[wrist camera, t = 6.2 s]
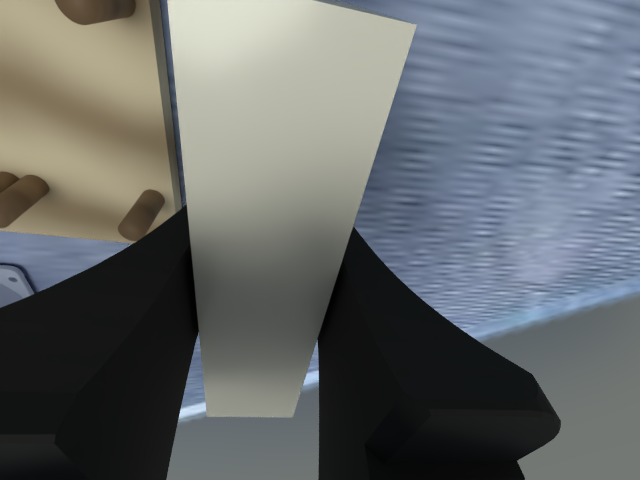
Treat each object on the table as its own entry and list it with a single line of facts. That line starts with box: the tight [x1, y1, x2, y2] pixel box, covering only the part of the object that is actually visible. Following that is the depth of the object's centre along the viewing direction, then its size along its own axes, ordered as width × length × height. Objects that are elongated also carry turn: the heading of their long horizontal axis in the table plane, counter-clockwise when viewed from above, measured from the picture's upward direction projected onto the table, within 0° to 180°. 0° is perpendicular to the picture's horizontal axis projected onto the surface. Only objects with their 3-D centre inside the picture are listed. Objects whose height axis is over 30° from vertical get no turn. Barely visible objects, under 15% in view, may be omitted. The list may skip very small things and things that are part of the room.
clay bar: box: [167, 0, 417, 417], centre depth 9 cm, size 12×3×5 cm, turn 169°
